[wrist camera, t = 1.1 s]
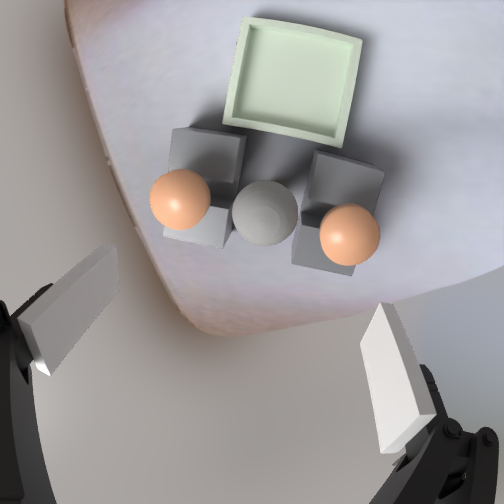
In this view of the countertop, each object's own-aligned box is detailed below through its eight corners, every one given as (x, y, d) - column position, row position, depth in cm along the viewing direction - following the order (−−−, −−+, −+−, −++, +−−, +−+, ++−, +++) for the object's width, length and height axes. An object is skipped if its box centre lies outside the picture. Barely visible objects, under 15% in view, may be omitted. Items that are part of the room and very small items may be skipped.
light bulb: (248, 217, 33) (231, 258, 24) (242, 169, 30) (221, 192, 21) (298, 214, 32) (300, 255, 23) (294, 165, 29) (296, 186, 20)
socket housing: (188, 127, 29) (172, 129, 25) (372, 164, 28) (385, 172, 24) (178, 221, 34) (163, 236, 30) (345, 256, 33) (351, 276, 29)
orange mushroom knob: (322, 186, 27) (329, 201, 22) (371, 198, 27) (387, 216, 22) (310, 234, 29) (313, 259, 24) (356, 244, 29) (368, 270, 24)
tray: (245, 22, 23) (242, 16, 21) (358, 44, 23) (362, 39, 21) (226, 123, 28) (222, 124, 26) (337, 146, 28) (341, 148, 26)
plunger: (175, 158, 27) (151, 168, 22) (224, 165, 27) (209, 177, 22) (171, 205, 30) (148, 224, 25) (217, 214, 29) (202, 235, 24)
